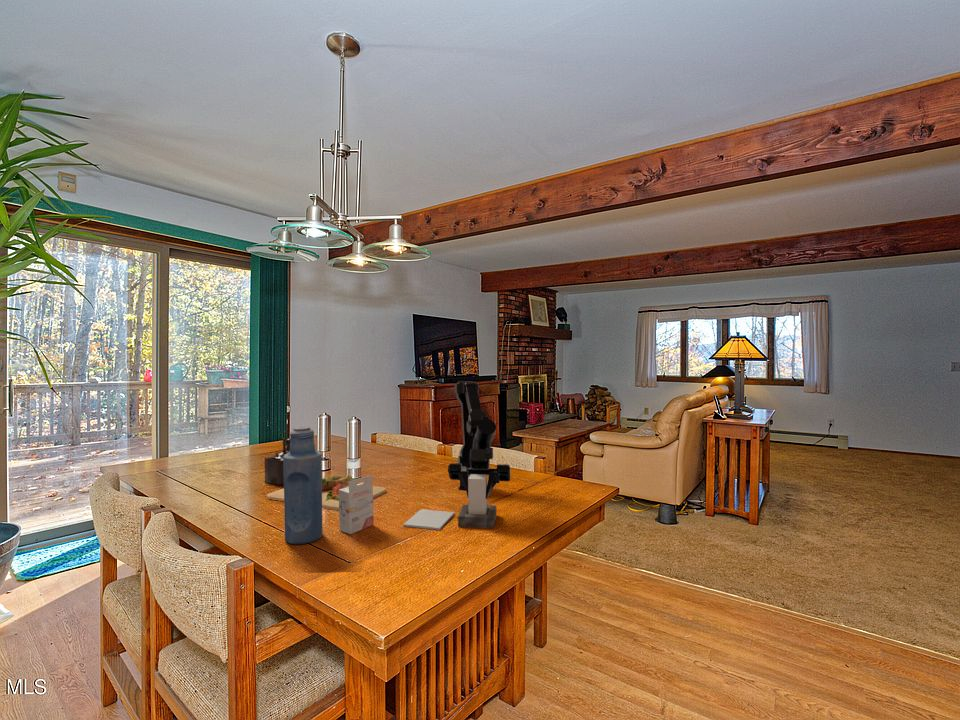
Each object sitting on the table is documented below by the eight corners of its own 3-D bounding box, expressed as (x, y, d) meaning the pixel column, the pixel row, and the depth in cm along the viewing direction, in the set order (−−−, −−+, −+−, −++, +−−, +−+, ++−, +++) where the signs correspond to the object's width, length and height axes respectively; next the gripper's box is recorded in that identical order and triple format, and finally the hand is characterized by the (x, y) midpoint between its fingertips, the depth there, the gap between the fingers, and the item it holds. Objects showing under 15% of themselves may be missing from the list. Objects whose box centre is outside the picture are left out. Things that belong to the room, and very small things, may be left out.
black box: (262, 482, 178) (261, 435, 178) (286, 475, 188) (286, 431, 188) (289, 488, 171) (288, 439, 170) (313, 480, 180) (313, 434, 180)
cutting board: (388, 492, 167) (388, 471, 167) (346, 514, 146) (346, 490, 146) (312, 482, 181) (312, 463, 181) (263, 500, 159) (263, 478, 159)
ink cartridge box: (362, 521, 137) (362, 472, 137) (374, 525, 134) (373, 474, 134) (338, 530, 131) (337, 478, 130) (349, 534, 128) (348, 481, 127)
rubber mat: (403, 526, 133) (403, 524, 133) (421, 511, 146) (421, 509, 146) (439, 530, 131) (439, 527, 131) (454, 514, 143) (454, 512, 143)
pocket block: (458, 526, 133) (458, 516, 133) (463, 514, 143) (463, 504, 143) (493, 528, 132) (493, 517, 132) (496, 515, 142) (496, 505, 142)
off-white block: (468, 523, 135) (468, 478, 135) (470, 516, 140) (470, 474, 140) (485, 523, 135) (485, 479, 134) (487, 517, 140) (487, 474, 139)
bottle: (327, 530, 131) (326, 424, 130) (316, 545, 121) (314, 430, 120) (292, 531, 130) (291, 424, 130) (278, 546, 120) (277, 430, 120)
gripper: (448, 436, 142) (441, 483, 131) (509, 438, 140) (508, 485, 129) (453, 456, 150) (447, 501, 139) (511, 457, 148) (509, 504, 137)
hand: (477, 497), depth 136 cm, fingers closed on off-white block, 5 cm apart
